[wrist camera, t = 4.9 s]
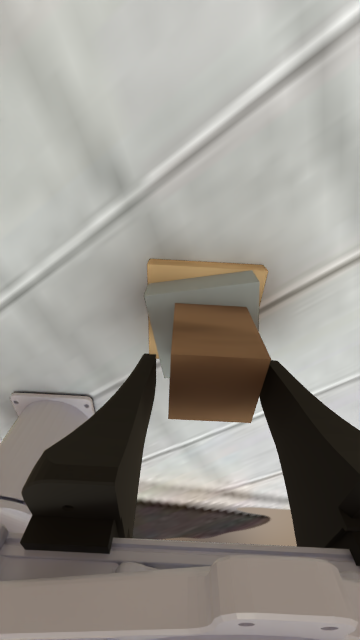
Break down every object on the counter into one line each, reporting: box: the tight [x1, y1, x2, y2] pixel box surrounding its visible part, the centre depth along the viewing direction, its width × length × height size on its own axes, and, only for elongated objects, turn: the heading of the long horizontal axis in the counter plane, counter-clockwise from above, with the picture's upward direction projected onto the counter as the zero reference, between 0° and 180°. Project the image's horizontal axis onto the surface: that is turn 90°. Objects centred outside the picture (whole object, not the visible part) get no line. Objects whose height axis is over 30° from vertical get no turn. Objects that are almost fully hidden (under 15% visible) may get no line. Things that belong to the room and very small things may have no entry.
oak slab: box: [147, 259, 268, 359], centre depth 19 cm, size 8×8×2 cm
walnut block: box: [168, 303, 271, 423], centre depth 14 cm, size 4×4×5 cm
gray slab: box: [144, 270, 260, 378], centre depth 17 cm, size 7×7×2 cm
